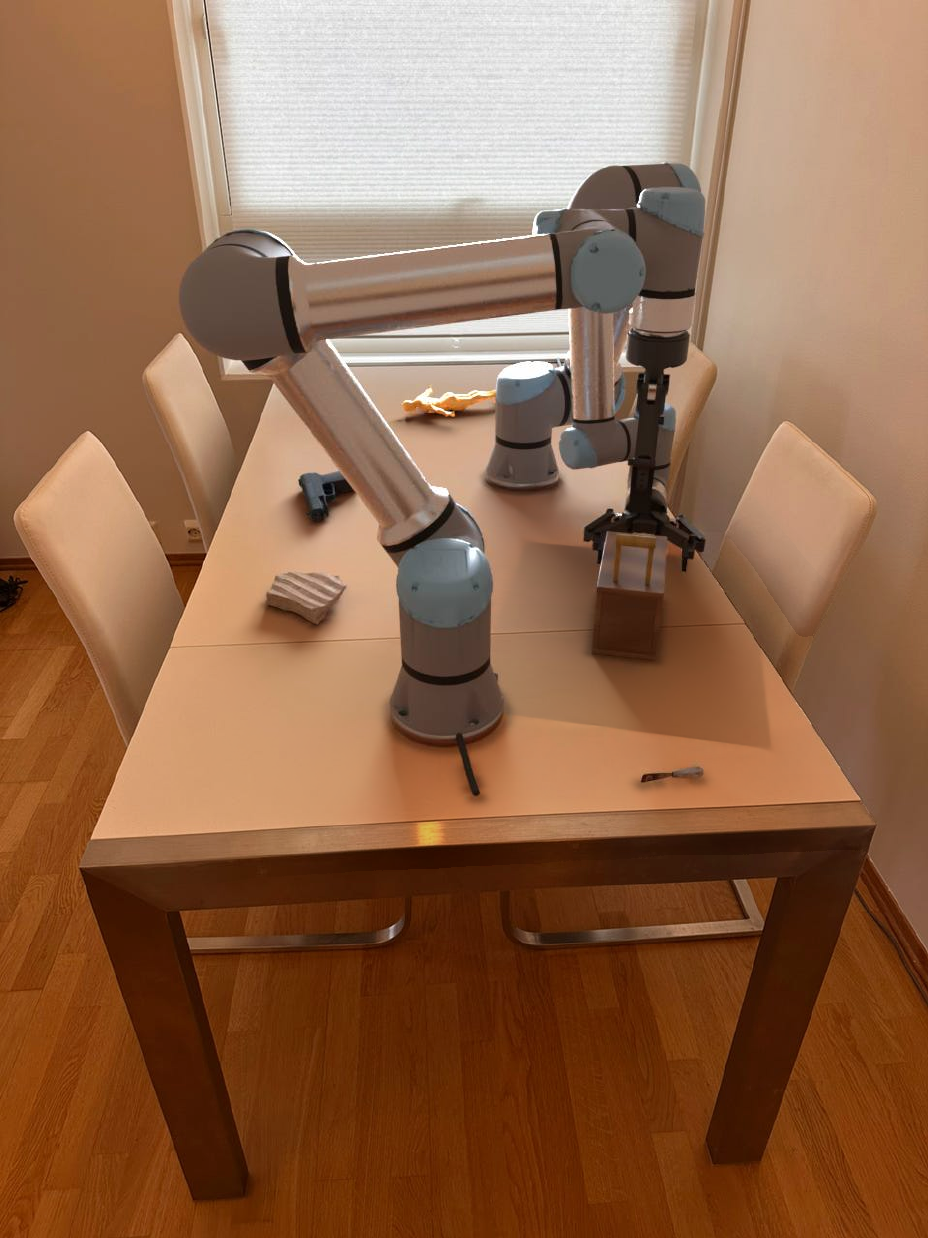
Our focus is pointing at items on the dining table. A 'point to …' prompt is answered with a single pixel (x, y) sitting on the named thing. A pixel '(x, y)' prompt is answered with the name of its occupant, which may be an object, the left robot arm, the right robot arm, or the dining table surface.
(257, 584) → the dining table surface
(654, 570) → the lid
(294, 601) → the stone
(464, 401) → the human figure
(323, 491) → the handgun
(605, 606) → the chest
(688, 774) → the putty knife
